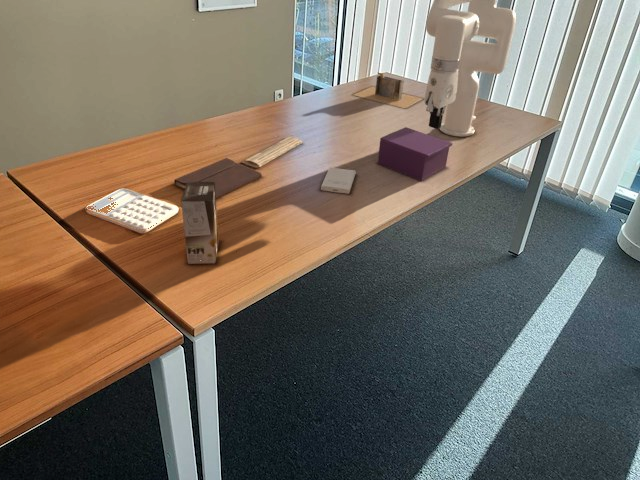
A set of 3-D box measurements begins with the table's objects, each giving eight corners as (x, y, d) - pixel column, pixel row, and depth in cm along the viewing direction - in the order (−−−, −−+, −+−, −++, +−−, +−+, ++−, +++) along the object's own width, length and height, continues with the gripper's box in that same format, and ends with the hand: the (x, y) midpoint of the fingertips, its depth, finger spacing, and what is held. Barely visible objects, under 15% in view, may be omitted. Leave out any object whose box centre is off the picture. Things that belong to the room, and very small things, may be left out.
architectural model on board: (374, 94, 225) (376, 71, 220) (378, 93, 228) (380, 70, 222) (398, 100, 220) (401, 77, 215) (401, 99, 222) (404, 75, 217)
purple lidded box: (445, 167, 167) (449, 144, 163) (421, 181, 158) (425, 157, 154) (402, 151, 176) (405, 129, 172) (377, 163, 167) (380, 140, 163)
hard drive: (355, 175, 160) (349, 194, 149) (328, 172, 161) (320, 190, 150) (355, 170, 159) (349, 189, 148) (329, 167, 160) (321, 185, 150)
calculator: (143, 235, 127) (142, 228, 126) (84, 213, 135) (82, 206, 134) (180, 211, 137) (180, 205, 136) (123, 192, 145) (122, 186, 144)
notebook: (261, 178, 155) (261, 171, 154) (211, 202, 142) (210, 195, 141) (225, 163, 163) (225, 157, 162) (174, 184, 149) (173, 178, 148)
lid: (452, 145, 162) (452, 143, 162) (427, 157, 154) (428, 155, 153) (405, 129, 172) (405, 127, 171) (380, 140, 163) (380, 137, 163)
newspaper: (259, 169, 160) (259, 163, 159) (241, 162, 163) (240, 157, 162) (302, 144, 177) (302, 139, 176) (285, 139, 180) (285, 134, 179)
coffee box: (216, 263, 119) (211, 201, 110) (187, 264, 118) (180, 201, 109) (219, 241, 126) (215, 181, 118) (192, 241, 126) (185, 181, 117)
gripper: (442, 72, 140) (431, 137, 150) (470, 62, 149) (458, 124, 159) (418, 66, 144) (409, 130, 154) (447, 56, 153) (437, 117, 163)
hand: (434, 126), depth 156 cm, fingers closed
